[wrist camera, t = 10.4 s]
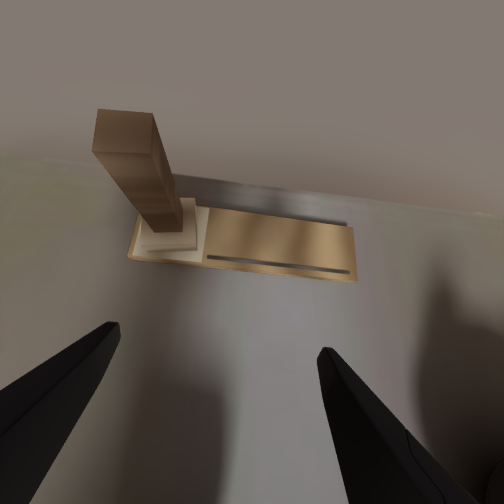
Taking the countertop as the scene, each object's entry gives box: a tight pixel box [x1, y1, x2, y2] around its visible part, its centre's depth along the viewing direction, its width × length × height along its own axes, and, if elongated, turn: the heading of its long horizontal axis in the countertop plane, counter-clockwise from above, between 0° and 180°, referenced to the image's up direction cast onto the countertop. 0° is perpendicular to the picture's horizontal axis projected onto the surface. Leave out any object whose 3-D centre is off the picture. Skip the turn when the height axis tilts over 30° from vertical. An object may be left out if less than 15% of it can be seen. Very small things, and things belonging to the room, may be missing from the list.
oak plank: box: [127, 205, 358, 282], centre depth 24 cm, size 26×7×1 cm, turn 86°
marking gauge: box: [92, 109, 198, 252], centre depth 17 cm, size 6×5×13 cm
